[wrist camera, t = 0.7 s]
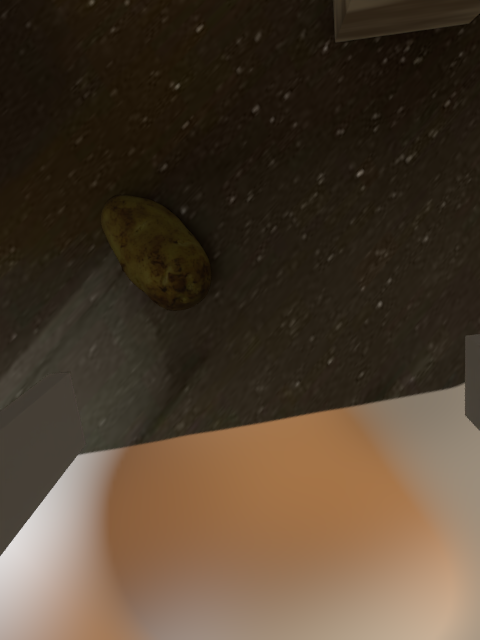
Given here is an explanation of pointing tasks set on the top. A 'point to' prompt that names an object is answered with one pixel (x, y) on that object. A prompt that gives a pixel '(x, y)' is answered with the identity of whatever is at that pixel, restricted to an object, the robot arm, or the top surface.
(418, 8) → the block
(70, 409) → the robot arm
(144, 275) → the potato
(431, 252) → the top surface
